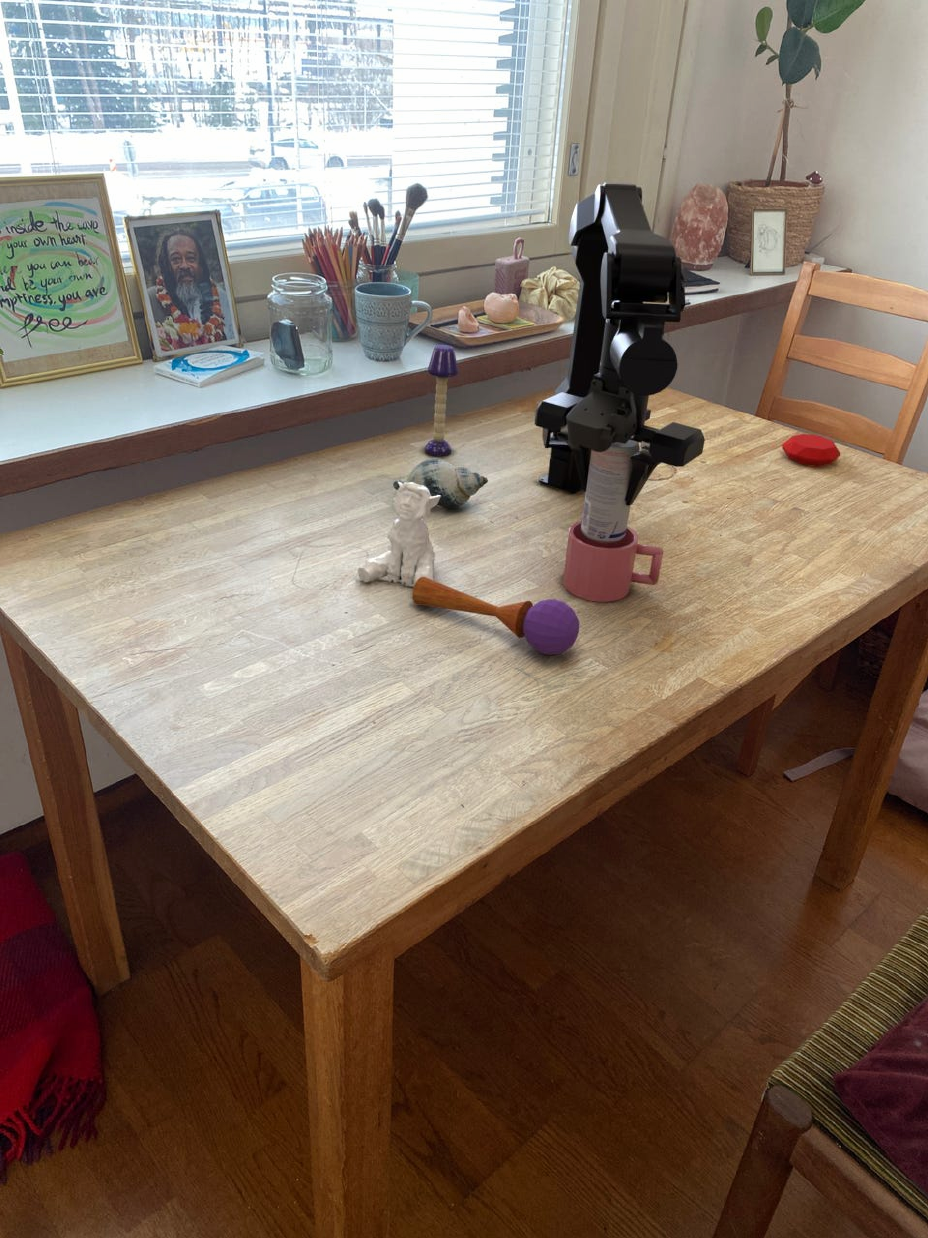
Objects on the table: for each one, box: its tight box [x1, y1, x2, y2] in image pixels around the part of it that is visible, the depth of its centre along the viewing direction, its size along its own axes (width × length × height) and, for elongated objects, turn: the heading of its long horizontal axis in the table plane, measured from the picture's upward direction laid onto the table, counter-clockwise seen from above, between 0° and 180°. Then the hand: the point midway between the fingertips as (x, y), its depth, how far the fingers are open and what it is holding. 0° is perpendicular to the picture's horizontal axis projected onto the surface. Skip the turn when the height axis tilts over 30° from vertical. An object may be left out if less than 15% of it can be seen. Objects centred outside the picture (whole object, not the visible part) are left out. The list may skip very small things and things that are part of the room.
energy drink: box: [581, 440, 641, 543], centre depth 109 cm, size 5×5×12 cm
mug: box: [562, 520, 665, 603], centre depth 114 cm, size 11×8×7 cm
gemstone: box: [781, 433, 841, 468], centre depth 156 cm, size 9×9×3 cm
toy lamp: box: [424, 344, 459, 457], centre depth 146 cm, size 5×5×17 cm
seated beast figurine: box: [357, 482, 441, 588], centre depth 112 cm, size 10×9×12 cm
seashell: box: [392, 457, 489, 509], centre depth 132 cm, size 6×8×12 cm
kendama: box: [411, 577, 580, 656], centre depth 104 cm, size 6×6×20 cm
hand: (607, 497), depth 110 cm, fingers closed on energy drink, 5 cm apart
